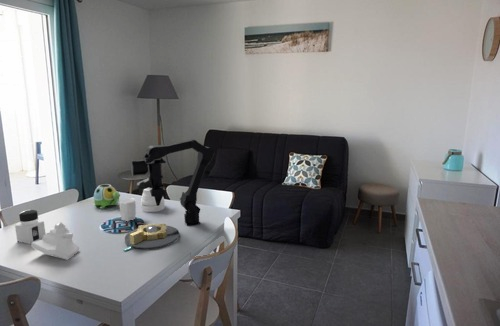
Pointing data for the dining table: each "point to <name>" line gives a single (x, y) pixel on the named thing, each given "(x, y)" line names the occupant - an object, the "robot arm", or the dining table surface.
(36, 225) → the container
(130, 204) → the white cup
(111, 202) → the turtle holder
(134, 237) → the gold block ring
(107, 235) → the dining table surface
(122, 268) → the dining table surface
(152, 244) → the grey round shallow disc
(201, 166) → the robot arm
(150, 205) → the honey pot
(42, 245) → the white stepped peaked piece
